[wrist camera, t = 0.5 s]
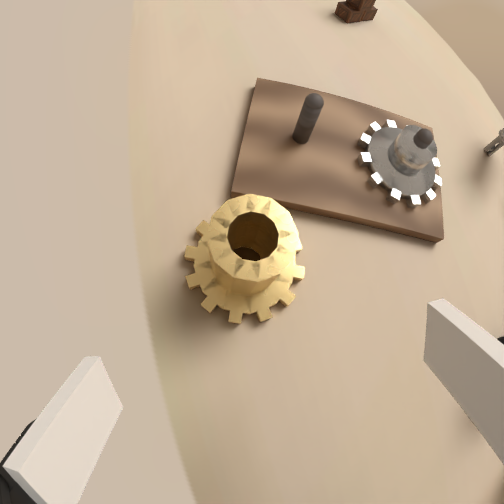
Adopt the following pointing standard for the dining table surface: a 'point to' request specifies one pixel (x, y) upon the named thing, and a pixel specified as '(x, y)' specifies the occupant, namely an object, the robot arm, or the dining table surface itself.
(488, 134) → the dining table surface
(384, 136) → the steel gear
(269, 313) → the brass gear
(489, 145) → the mechanical component
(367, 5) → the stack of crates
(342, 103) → the gear board
